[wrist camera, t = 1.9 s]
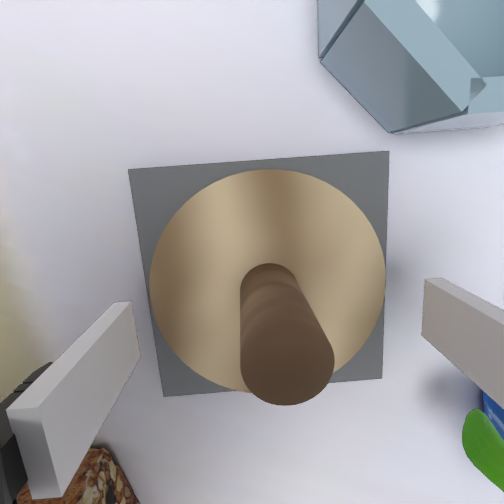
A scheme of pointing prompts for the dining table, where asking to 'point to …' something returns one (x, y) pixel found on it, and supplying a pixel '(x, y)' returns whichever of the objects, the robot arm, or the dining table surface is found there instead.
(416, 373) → the dining table surface
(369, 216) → the mat
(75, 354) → the robot arm
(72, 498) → the bread
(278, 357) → the lid
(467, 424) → the snack cup
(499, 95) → the bowl
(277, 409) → the dining table surface
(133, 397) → the dining table surface
